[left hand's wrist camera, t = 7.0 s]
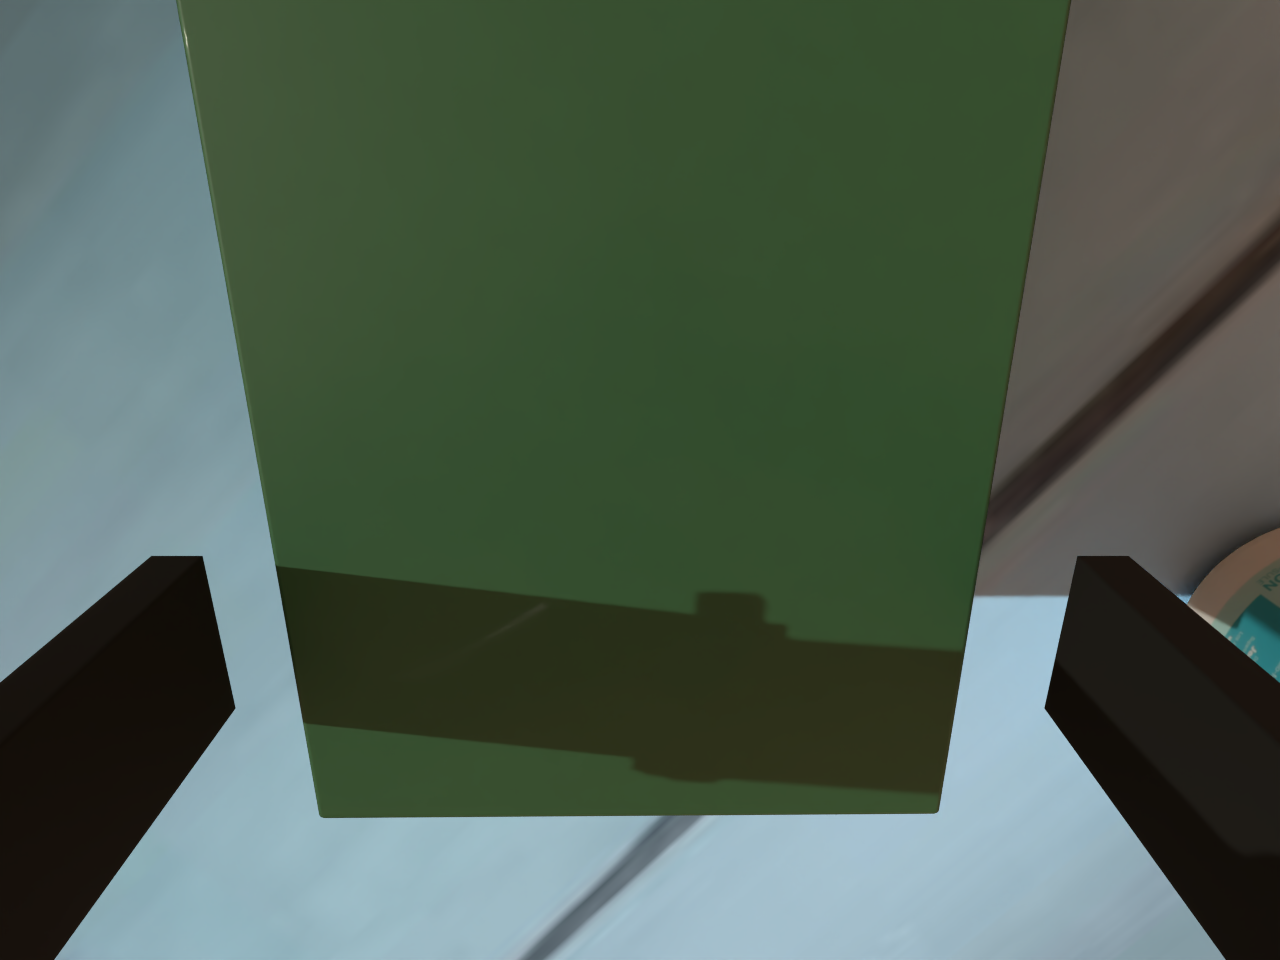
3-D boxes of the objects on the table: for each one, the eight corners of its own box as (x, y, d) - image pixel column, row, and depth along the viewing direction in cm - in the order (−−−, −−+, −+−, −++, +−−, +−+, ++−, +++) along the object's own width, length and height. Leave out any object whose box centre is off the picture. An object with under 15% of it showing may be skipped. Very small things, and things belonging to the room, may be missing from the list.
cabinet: (363, -386, 17) (-43, -1210, 7) (887, -383, 17) (1271, -1189, 7) (448, 543, 24) (317, 821, 14) (811, 542, 24) (940, 816, 14)
